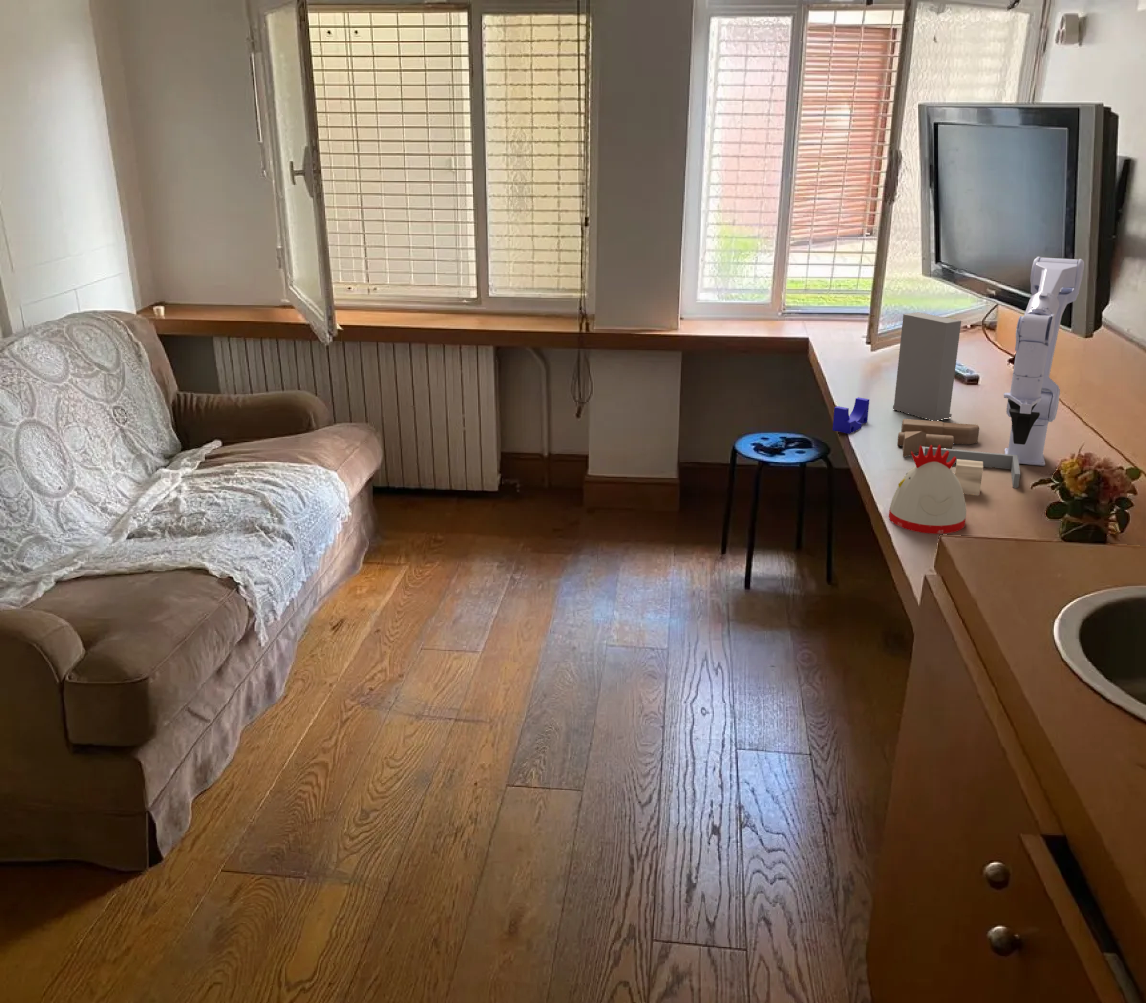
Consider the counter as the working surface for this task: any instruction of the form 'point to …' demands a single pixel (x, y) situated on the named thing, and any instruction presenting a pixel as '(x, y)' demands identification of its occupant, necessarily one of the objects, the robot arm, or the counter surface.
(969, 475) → the birch block
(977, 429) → the wooden block set
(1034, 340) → the robot arm
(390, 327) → the counter surface
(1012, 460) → the grey open bracket
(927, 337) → the tall grey upright block
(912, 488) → the kitchen timer
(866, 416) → the cable clip
